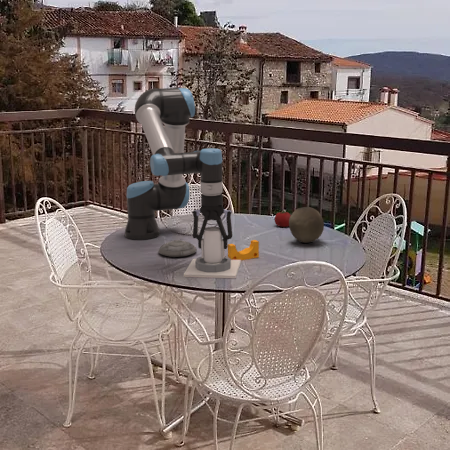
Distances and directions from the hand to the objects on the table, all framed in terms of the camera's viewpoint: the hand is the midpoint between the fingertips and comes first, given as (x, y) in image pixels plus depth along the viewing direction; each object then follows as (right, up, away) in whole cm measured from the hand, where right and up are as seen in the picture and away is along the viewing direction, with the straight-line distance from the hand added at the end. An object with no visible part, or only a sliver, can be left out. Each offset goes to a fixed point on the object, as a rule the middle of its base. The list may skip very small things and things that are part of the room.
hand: (213, 257), depth 209 cm
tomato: (+31, +11, +61) cm, 69 cm away
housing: (0, -4, +1) cm, 5 cm away
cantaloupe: (+38, +4, +32) cm, 50 cm away
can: (0, -2, 0) cm, 2 cm away
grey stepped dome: (-14, 0, +22) cm, 26 cm away
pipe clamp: (+11, -2, +14) cm, 18 cm away
